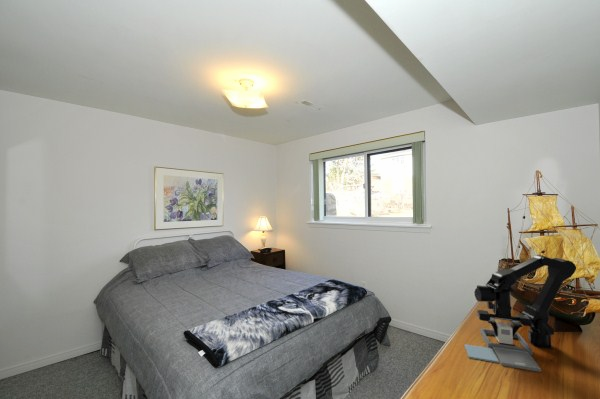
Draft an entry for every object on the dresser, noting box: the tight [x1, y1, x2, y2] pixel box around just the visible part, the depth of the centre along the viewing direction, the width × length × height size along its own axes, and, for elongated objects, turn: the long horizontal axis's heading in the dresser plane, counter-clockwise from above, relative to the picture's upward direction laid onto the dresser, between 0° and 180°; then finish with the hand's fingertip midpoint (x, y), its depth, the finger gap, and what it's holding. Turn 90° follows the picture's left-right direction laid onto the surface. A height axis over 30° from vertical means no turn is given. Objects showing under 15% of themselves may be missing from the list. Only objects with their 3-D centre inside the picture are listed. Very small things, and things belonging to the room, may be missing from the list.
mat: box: [463, 343, 500, 364], centre depth 110 cm, size 10×10×1 cm
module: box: [495, 321, 514, 346], centre depth 118 cm, size 5×5×7 cm
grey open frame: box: [479, 327, 542, 373], centre depth 113 cm, size 15×27×2 cm, turn 157°
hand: (503, 337), depth 118 cm, fingers closed on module, 5 cm apart
